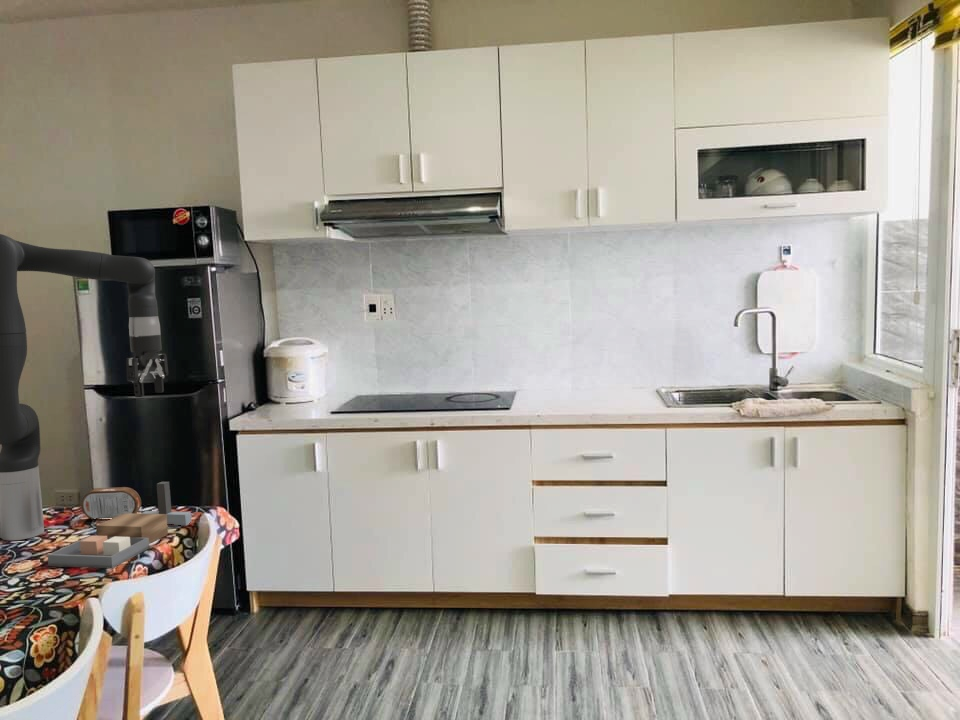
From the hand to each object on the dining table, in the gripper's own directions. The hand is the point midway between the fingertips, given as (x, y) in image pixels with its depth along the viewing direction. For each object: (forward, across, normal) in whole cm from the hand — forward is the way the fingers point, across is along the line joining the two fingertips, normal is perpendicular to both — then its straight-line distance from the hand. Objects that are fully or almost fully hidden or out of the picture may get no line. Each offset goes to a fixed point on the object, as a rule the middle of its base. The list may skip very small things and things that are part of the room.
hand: (149, 394), depth 198 cm
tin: (+33, +3, -12) cm, 36 cm away
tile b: (+30, +29, +9) cm, 43 cm away
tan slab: (+33, +19, +6) cm, 39 cm away
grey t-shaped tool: (+33, +6, +6) cm, 34 cm away
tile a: (+30, +29, +3) cm, 41 cm away
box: (+33, +31, +6) cm, 46 cm away
